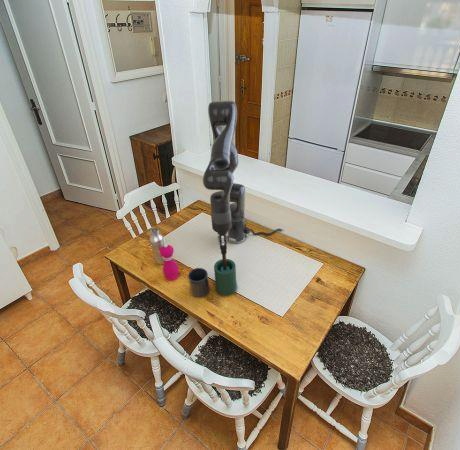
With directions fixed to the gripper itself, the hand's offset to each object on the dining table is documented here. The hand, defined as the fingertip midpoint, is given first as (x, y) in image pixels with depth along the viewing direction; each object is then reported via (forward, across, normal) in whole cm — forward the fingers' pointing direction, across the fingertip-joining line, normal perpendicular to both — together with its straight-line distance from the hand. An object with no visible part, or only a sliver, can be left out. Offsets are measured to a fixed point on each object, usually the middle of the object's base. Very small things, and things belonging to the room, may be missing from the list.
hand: (223, 251), depth 131 cm
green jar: (+22, 0, 0) cm, 22 cm away
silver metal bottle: (+23, +21, +32) cm, 44 cm away
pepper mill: (+23, +10, +26) cm, 36 cm away
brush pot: (+22, 0, +12) cm, 25 cm away
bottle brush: (+15, 0, 0) cm, 15 cm away
